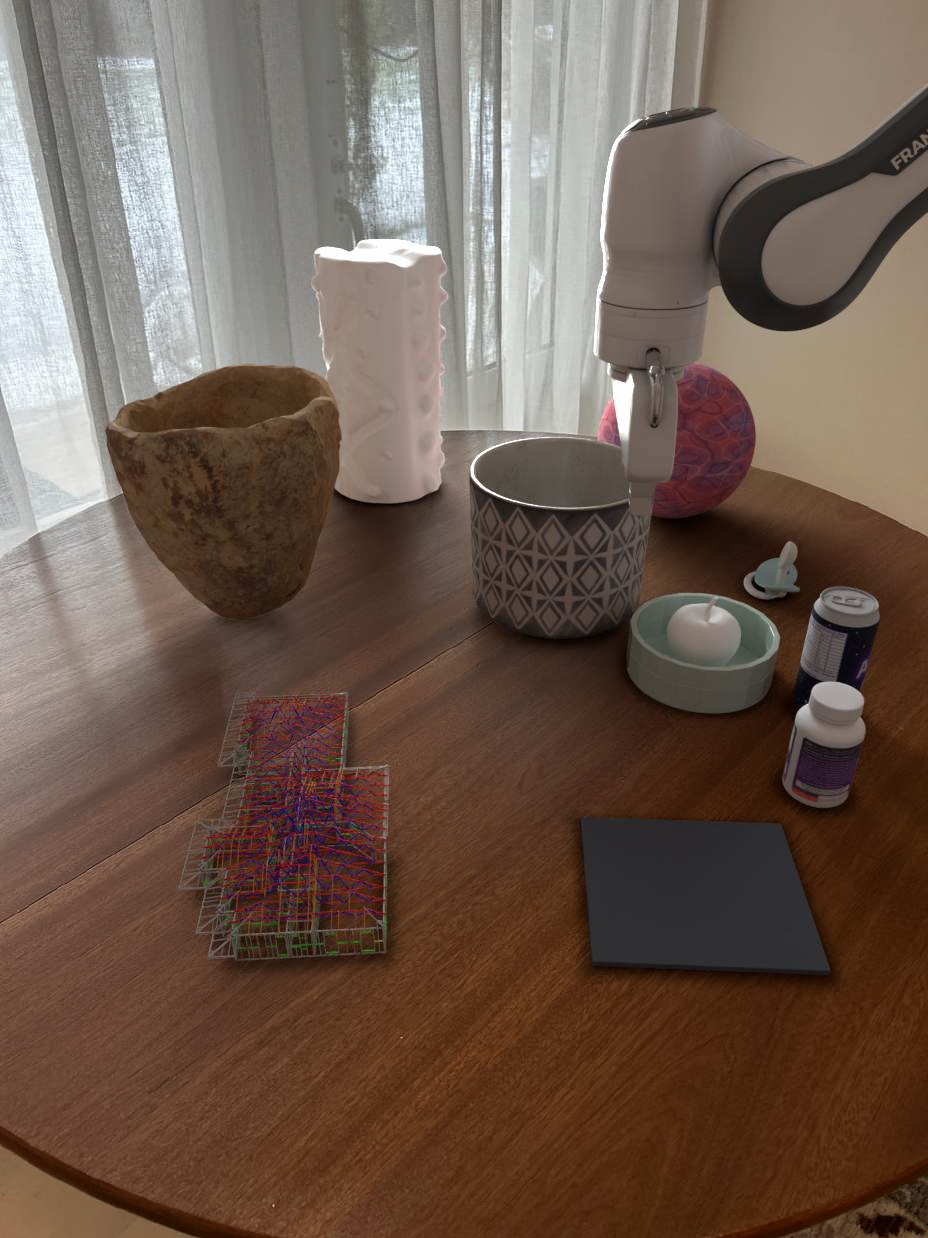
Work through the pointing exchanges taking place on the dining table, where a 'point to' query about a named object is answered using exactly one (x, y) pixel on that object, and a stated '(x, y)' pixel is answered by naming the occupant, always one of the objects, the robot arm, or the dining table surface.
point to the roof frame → (299, 826)
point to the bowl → (232, 481)
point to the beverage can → (837, 641)
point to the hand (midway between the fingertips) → (635, 489)
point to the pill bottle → (825, 746)
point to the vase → (384, 365)
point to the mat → (697, 897)
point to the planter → (555, 537)
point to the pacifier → (775, 575)
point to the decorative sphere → (700, 443)
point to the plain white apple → (703, 635)
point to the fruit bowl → (694, 683)
